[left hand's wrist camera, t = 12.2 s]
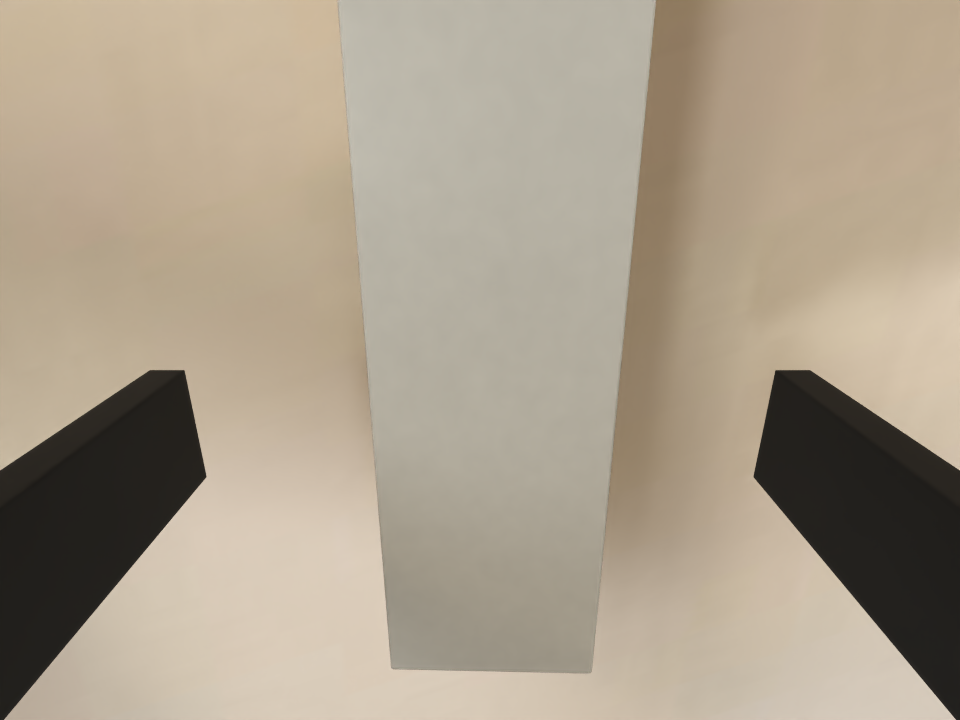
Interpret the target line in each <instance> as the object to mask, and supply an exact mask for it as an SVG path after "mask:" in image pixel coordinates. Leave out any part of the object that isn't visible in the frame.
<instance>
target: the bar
mask: <svg viewBox="0 0 960 720" xmlns="http://www.w3.org/2000/svg"><path fill="white" fill-rule="evenodd" d="M337 1H338V14H339V26H340V38H341V51H342V63H343V76H344V88H345V101H346V113H347V125H348V138H349V150H350V163H351V175H352V187H353V200H354V212H355V225H356V237H357V250H358V262H359V274H360V287H361V299H362V312H363V324H364V337H365V349H366V361H367V374H368V386H369V399H370V411H371V424H372V436H373V448H374V461H375V473H376V486H377V498H378V511H379V523H380V535H381V548H382V560H383V573H384V585H385V598H386V610H387V622H388V635H389V647H390V660H391V668H392V669H407V670H454V671H500V672H546V673H591V671H592V664H593V654H594V643H595V633H596V623H597V612H598V602H599V591H600V581H601V570H602V560H603V550H604V539H605V529H606V518H607V508H608V497H609V487H610V477H611V466H612V456H613V445H614V435H615V425H616V414H617V404H618V393H619V383H620V372H621V362H622V352H623V341H624V331H625V320H626V310H627V299H628V289H629V279H630V268H631V258H632V247H633V237H634V227H635V216H636V206H637V195H638V185H639V174H640V164H641V154H642V143H643V133H644V122H645V112H646V102H647V91H648V81H649V70H650V60H651V49H652V39H653V29H654V18H655V8H656V0H337Z"/></svg>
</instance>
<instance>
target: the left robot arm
mask: <svg viewBox="0 0 960 720" xmlns="http://www.w3.org/2000/svg"><path fill="white" fill-rule="evenodd" d="M205 478H206V472H205V467H204V462H203V458H202V453H201V448H200V443H199V438H198V433H197V429H196V424H195V419H194V414H193V409H192V404H191V400H190V395H189V390H188V385H187V380H186V375H185V371H184V370H150V371H148V372H147V373H145V374H144V375H142V376H141V377H139V378H138V379H136V380H135V381H133V382H132V383H130V384H129V385H127V386H126V387H124V388H123V389H121V390H120V391H118V392H117V393H115V394H114V395H112V396H111V397H109V398H108V399H106V400H105V401H103V402H102V403H100V404H99V405H97V406H96V407H94V408H93V409H91V410H90V411H88V412H87V413H85V414H84V415H83V416H81V417H80V418H78V419H77V420H75V421H74V422H72V423H71V424H69V425H68V426H66V427H65V428H63V429H62V430H60V431H59V432H57V433H56V434H54V435H53V436H51V437H50V438H48V439H47V440H45V441H44V442H42V443H41V444H39V445H38V446H36V447H35V448H33V449H32V450H30V451H29V452H27V453H26V454H24V455H23V456H21V457H20V458H18V459H17V460H15V461H14V462H12V463H11V464H9V465H8V466H6V467H5V468H3V469H2V470H0V720H4V719H5V718H6V717H7V715H8V714H9V713H10V712H11V711H12V709H13V708H14V707H15V706H16V705H17V703H18V702H19V701H20V700H21V699H22V697H23V696H24V695H25V694H26V693H27V691H28V690H29V689H30V688H31V687H32V685H33V684H34V683H35V682H36V681H37V679H38V678H39V677H40V676H41V675H42V673H43V672H44V671H45V670H46V669H47V667H48V666H49V665H50V664H51V663H52V661H53V660H54V659H55V658H56V657H57V655H58V654H59V653H60V652H61V651H62V649H63V648H64V647H65V646H66V645H67V643H68V642H69V641H70V640H71V639H72V637H73V636H74V635H75V634H76V633H77V631H78V630H79V629H80V628H81V627H82V625H83V624H84V623H85V622H86V621H87V619H88V618H89V617H90V616H91V615H92V613H93V612H94V611H95V610H96V609H97V607H98V606H99V605H100V604H101V603H102V601H103V600H104V599H105V598H106V597H107V595H108V594H109V593H110V592H111V591H112V589H113V588H114V587H115V586H116V585H117V584H118V582H119V581H120V580H121V579H122V578H123V576H124V575H125V574H126V573H127V572H128V570H129V569H130V568H131V567H132V566H133V564H134V563H135V562H136V561H137V560H138V558H139V557H140V556H141V555H142V554H143V552H144V551H145V550H146V549H147V548H148V546H149V545H150V544H151V543H152V542H153V540H154V539H155V538H156V537H157V536H158V534H159V533H160V532H161V531H162V530H163V528H164V527H165V526H166V525H167V524H168V522H169V521H170V520H171V519H172V518H173V516H174V515H175V514H176V513H177V512H178V510H179V509H180V508H181V507H182V506H183V504H184V503H185V502H186V501H187V500H188V498H189V497H190V496H191V495H192V494H193V492H194V491H195V490H196V489H197V488H198V486H199V485H200V484H201V483H202V482H203V480H204V479H205ZM754 478H755V479H756V480H757V482H758V483H759V484H760V485H761V486H762V488H763V489H764V490H765V491H766V492H767V494H768V495H769V496H770V497H771V498H772V500H773V501H774V502H775V503H776V504H777V506H778V507H779V508H780V509H781V510H782V512H783V513H784V514H785V515H786V516H787V518H788V519H789V520H790V521H791V522H792V524H793V525H794V526H795V527H796V528H797V530H798V531H799V532H800V533H801V534H802V536H803V537H804V538H805V539H806V540H807V542H808V543H809V544H810V545H811V546H812V548H813V549H814V550H815V551H816V552H817V554H818V555H819V556H820V557H821V558H822V560H823V561H824V562H825V563H826V564H827V566H828V567H829V568H830V569H831V570H832V572H833V573H834V574H835V575H836V576H837V578H838V579H839V580H840V581H841V582H842V584H843V585H844V586H845V587H846V588H847V590H848V591H849V592H850V593H851V594H852V595H853V597H854V598H855V599H856V600H857V601H858V603H859V604H860V605H861V606H862V607H863V609H864V610H865V611H866V612H867V613H868V615H869V616H870V617H871V618H872V619H873V621H874V622H875V623H876V624H877V625H878V627H879V628H880V629H881V630H882V631H883V633H884V634H885V635H886V636H887V637H888V639H889V640H890V641H891V642H892V643H893V645H894V646H895V647H896V648H897V649H898V651H899V652H900V653H901V654H902V655H903V657H904V658H905V659H906V660H907V661H908V663H909V664H910V665H911V666H912V667H913V669H914V670H915V671H916V672H917V673H918V675H919V676H920V677H921V678H922V679H923V681H924V682H925V683H926V684H927V685H928V687H929V688H930V689H931V690H932V691H933V693H934V694H935V695H936V696H937V697H938V699H939V700H940V701H941V702H942V703H943V705H944V706H945V707H946V708H947V709H948V711H949V712H950V713H951V714H952V715H953V717H954V718H955V719H956V720H960V470H958V469H957V468H955V467H954V466H952V465H951V464H949V463H948V462H946V461H945V460H943V459H942V458H940V457H939V456H937V455H936V454H934V453H933V452H931V451H930V450H928V449H927V448H925V447H924V446H922V445H921V444H919V443H918V442H916V441H915V440H913V439H912V438H910V437H909V436H907V435H906V434H904V433H903V432H901V431H900V430H898V429H897V428H895V427H894V426H892V425H891V424H889V423H888V422H886V421H885V420H883V419H882V418H880V417H879V416H877V415H876V414H874V413H873V412H872V411H870V410H869V409H867V408H866V407H864V406H863V405H861V404H860V403H858V402H857V401H855V400H854V399H852V398H851V397H849V396H848V395H846V394H845V393H843V392H842V391H840V390H839V389H837V388H836V387H834V386H833V385H831V384H830V383H828V382H827V381H825V380H824V379H822V378H821V377H819V376H818V375H816V374H815V373H813V372H812V371H810V370H776V371H775V375H774V380H773V385H772V390H771V395H770V400H769V404H768V409H767V414H766V419H765V424H764V429H763V433H762V438H761V443H760V448H759V453H758V458H757V462H756V467H755V472H754Z"/></svg>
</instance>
